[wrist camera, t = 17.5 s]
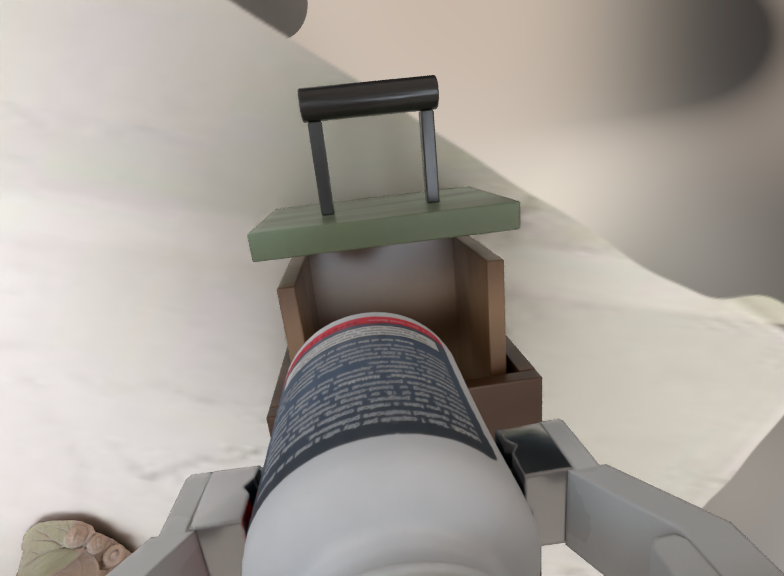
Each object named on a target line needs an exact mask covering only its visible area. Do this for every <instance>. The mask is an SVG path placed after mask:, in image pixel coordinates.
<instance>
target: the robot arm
mask: <svg viewBox="0 0 784 576" xmlns="http://www.w3.org/2000/svg"><path fill="white" fill-rule="evenodd" d="M495 444H496V445H497V447H498V449H499V451H500V453H501V455H502V456H503V458H504V460H505V462H506V464H507V466H508V467H509V469H510V471H511V473H512V475H513V476H514V478H515V480H516V482H517V484H518V485H519V487H520V489H521V491H522V493H523V495H524V497H525V499H526V501H527V503H528V505H529V507H530V509H531V512H532V514H533V517H534V520H535V523H536V526H537V530H538V533H539V538H540V543H541V546H544V545H551V544H558V543H565V542H566V545H567V546H568V547H569V548H570V549H572V550H573V551H574V552H575V553H577V554H578V555H579V556H580V557H582V558H583V559H584V560H585V561H587V562H588V563H589V564H590V565H592V566H593V567H594V568H596V569H597V570H598V571H599V572H601V573H602V574H603V575H604V576H784V573H783V572H782V571H781V570H780V569H779V568H778V567H776V565H775V564H774V563H773V562H772V561H771V560H770V559H769V558H767V557H766V556H765V555H764V554H763V553H762V552H761V551H760V550H759V549H758V548H757V547H756V546H755V545H754V544H753V543H752V542H751V541H750V540H749V539H748V538H747V537H746V536H745V535H744V534H743V533H742V532H741V531H740V530H739V529H738V528H737V527H735V526H734V525H733V524H732V523H731V522H729V521H727V520H725V519H723V518H720V517H718V516H716V515H714V514H712V513H710V512H707V511H706V510H703V509H701V508H699V507H697V506H695V505H693V504H691V503H688V502H686V501H684V500H682V499H680V498H678V497H675V496H673V495H671V494H669V493H667V492H665V491H663V490H660V489H658V488H656V487H654V486H652V485H650V484H648V483H645V482H643V481H641V480H639V479H637V478H635V477H633V476H630V475H628V474H626V473H624V472H622V471H620V470H618V469H615V468H613V467H611V466H609V465H607V464H605V465H599V464H598V463H597V461H596V460H595V459H594V458H593V456H592V455H591V454H590V453H589V452H588V450H587V449H586V448H585V447H584V445H583V444H582V443H581V442H580V441H579V439H578V438H577V437H576V436H575V434H574V433H573V432H572V431H571V430H570V428H569V427H568V426H567V425H566V423H565V422H564V421H563V420H561V419H554V420H548V421H543V422H538V423H536V424H529V425H523V426H517V427H510V428H504V429H498V430H496V431H495ZM262 470H263V468H262V467H261V466H253V467H245V468H237V469H230V470H222V471H215V472H208V473H201V474H194V475H191V476H189V477H188V478H187V479H186V480H185V482H184V485H183V487H182V489H181V491H180V493H179V495H178V497H177V499H176V501H175V503H174V505H173V507H172V509H171V511H170V513H169V515H168V518H167V520H166V522H165V524H164V526H163V528H162V530H161V532H160V534H159V536H157V537H151V538H150V539H149V540H147V541H146V542H145V543H144V544H143V545H141V546H140V547H139V548H138V549H137V550H136V551H134V552H133V553H132V554H131V555H130V556H128V557H127V558H126V559H125V560H124V561H122V562H121V563H120V564H119V565H118V566H116V567H115V568H114V569H113V570H112V571H111V572H109V573H108V574H107V575H106V576H242V560H243V555H244V547H245V542H246V537H247V531H248V526H249V523H250V519H251V514H252V510H253V506H254V503H255V499H256V495H257V491H258V487H259V483H260V479H261V475H262Z"/></svg>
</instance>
